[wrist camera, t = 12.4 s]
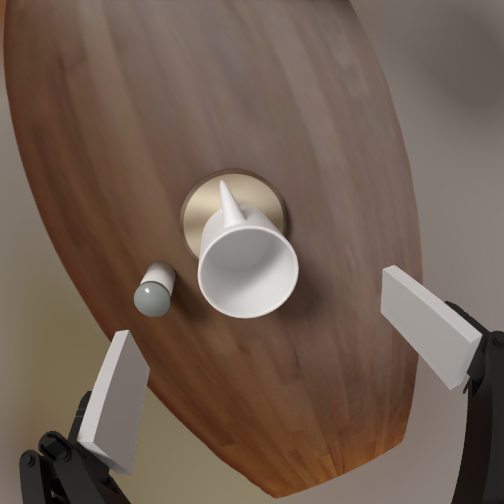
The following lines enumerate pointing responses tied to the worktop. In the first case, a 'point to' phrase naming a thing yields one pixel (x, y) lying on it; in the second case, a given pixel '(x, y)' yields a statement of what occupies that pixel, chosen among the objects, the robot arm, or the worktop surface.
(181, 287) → the worktop surface
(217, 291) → the mug
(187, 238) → the beige flat disc
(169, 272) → the spice jar
